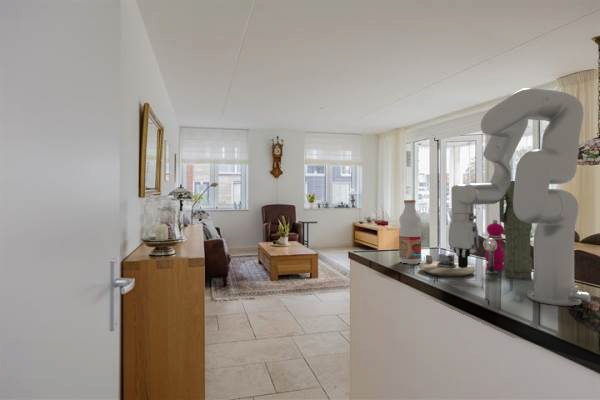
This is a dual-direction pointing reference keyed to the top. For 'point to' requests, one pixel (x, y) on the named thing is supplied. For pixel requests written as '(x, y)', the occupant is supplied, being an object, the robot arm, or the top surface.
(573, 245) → the robot arm
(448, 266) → the cover
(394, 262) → the top surface
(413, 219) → the fruit juice
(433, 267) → the turntable
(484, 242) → the globe topped trophy
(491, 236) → the pepper mill
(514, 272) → the thermos
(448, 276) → the turntable base
